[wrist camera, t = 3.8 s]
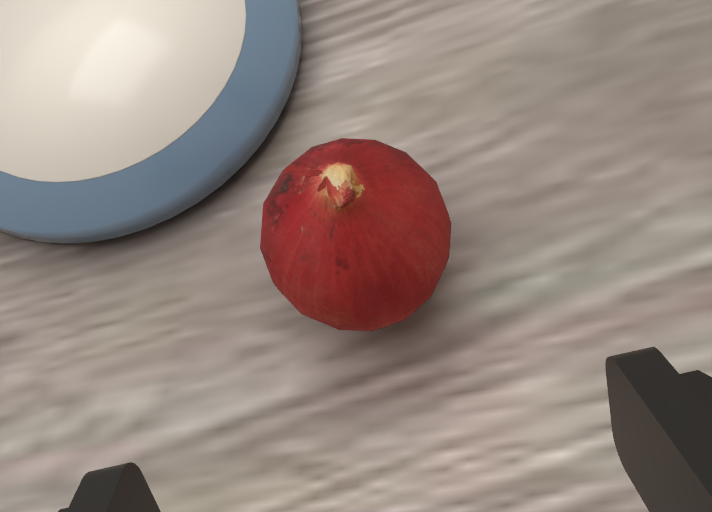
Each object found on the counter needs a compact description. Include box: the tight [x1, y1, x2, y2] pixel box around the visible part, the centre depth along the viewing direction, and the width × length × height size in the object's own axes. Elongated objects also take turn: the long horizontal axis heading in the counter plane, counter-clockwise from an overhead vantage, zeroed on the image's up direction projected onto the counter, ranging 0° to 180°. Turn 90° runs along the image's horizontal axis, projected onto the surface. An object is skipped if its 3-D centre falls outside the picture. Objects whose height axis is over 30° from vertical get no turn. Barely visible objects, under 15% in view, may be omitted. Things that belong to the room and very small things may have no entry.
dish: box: [0, 0, 302, 244], centre depth 28 cm, size 17×17×2 cm
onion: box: [260, 138, 451, 331], centre depth 21 cm, size 6×6×8 cm
